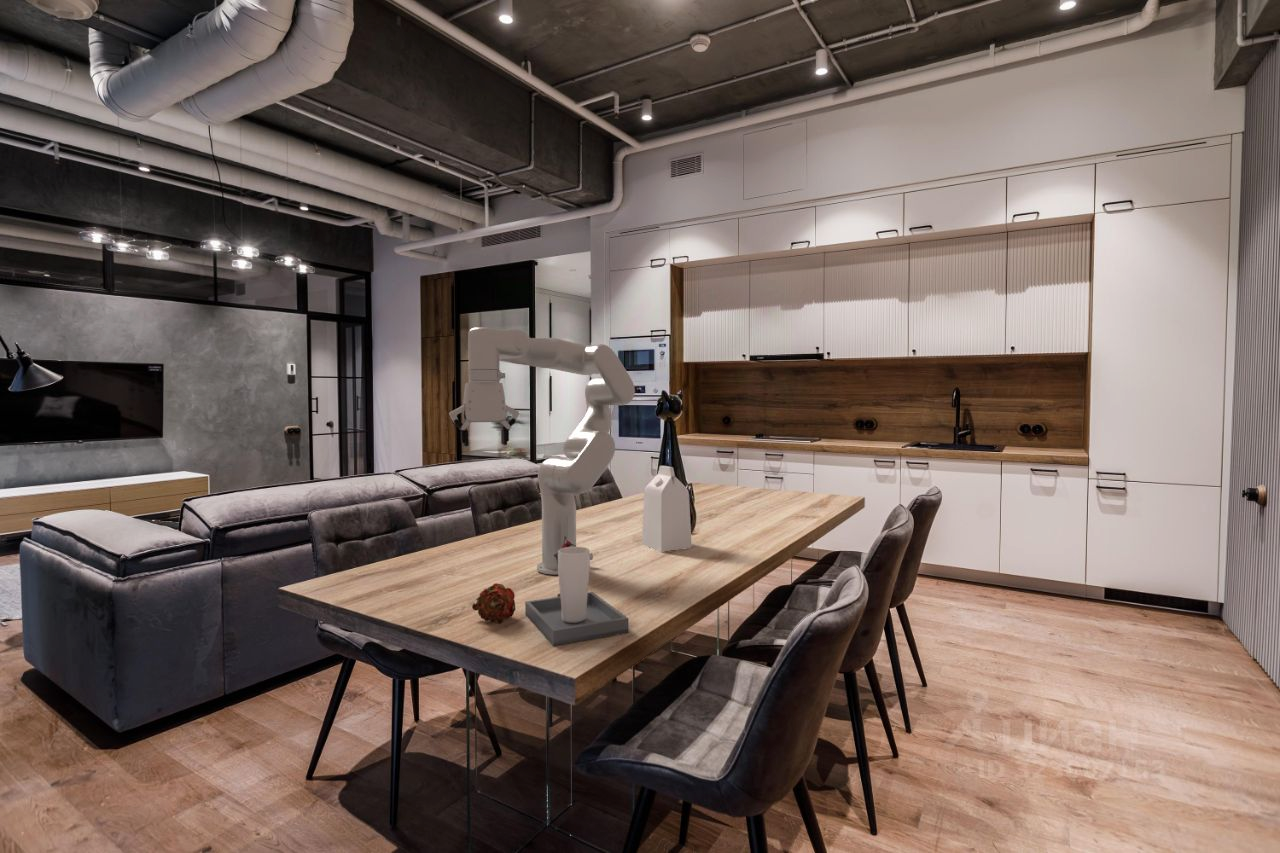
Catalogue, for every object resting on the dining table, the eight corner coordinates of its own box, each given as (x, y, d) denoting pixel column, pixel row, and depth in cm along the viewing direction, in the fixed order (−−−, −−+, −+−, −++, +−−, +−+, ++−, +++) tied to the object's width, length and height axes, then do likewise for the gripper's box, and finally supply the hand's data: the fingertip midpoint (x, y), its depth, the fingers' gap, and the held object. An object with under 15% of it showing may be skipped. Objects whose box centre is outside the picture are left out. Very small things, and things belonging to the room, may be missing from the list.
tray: (592, 604, 149) (592, 591, 149) (628, 632, 131) (628, 618, 131) (525, 614, 142) (525, 601, 142) (553, 646, 124) (553, 630, 124)
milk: (691, 548, 205) (691, 467, 204) (661, 552, 199) (661, 469, 198) (671, 541, 215) (671, 464, 214) (641, 545, 210) (641, 466, 208)
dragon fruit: (501, 637, 133) (486, 628, 143) (531, 607, 136) (514, 600, 147) (475, 608, 131) (462, 600, 142) (506, 578, 135) (491, 573, 145)
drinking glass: (585, 626, 133) (584, 554, 132) (553, 624, 134) (553, 553, 133) (593, 615, 139) (593, 547, 139) (563, 613, 140) (563, 545, 140)
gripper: (514, 378, 168) (515, 443, 169) (446, 377, 160) (447, 445, 161) (522, 377, 161) (522, 445, 162) (451, 376, 154) (452, 447, 154)
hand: (485, 445), depth 162 cm, fingers open, 9 cm apart
